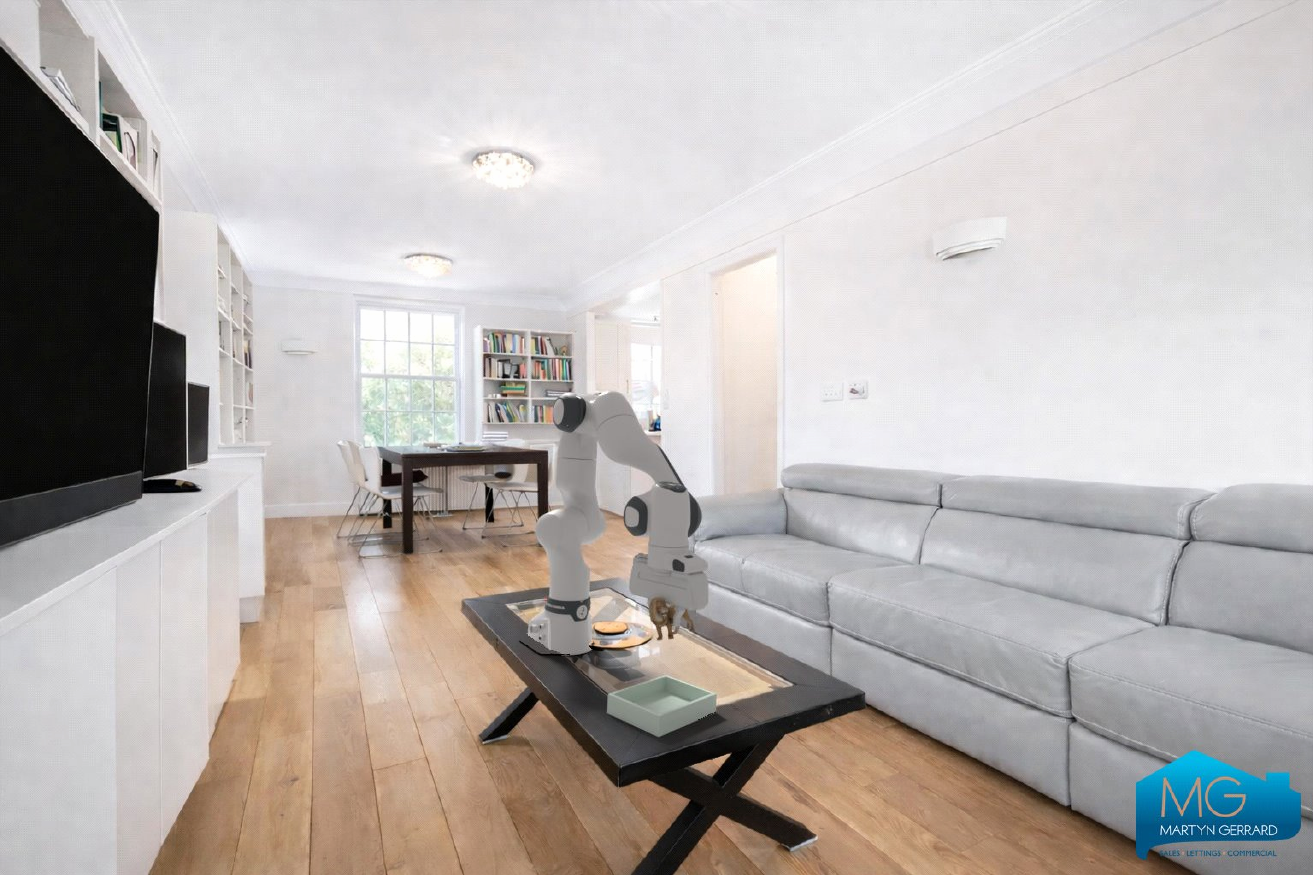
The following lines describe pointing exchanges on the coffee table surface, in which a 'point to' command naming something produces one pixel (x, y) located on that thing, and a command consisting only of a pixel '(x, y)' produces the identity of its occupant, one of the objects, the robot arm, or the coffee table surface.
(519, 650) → the coffee table surface
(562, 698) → the coffee table surface
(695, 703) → the box
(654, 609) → the lion figurine
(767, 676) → the coffee table surface
